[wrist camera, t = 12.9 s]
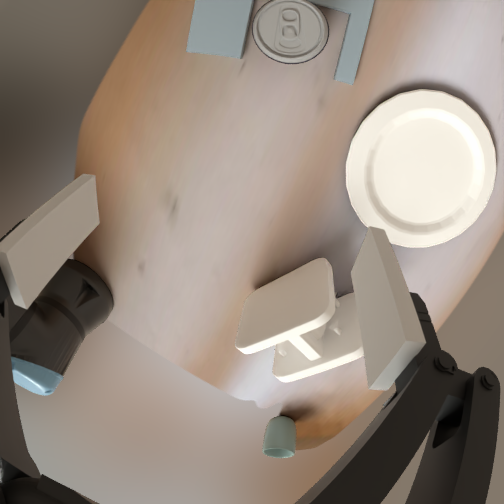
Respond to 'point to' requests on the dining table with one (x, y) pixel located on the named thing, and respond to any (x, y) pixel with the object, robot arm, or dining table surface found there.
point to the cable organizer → (301, 323)
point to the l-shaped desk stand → (237, 23)
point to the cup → (280, 437)
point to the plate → (421, 168)
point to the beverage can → (290, 30)
